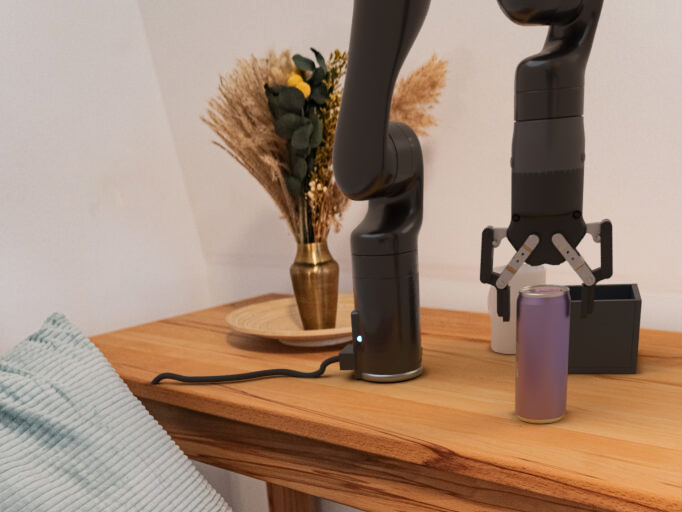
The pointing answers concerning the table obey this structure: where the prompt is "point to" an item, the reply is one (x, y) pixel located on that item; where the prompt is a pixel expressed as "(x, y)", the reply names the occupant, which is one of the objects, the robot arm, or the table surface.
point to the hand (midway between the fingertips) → (544, 319)
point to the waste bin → (605, 330)
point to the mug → (511, 306)
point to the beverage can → (542, 352)
